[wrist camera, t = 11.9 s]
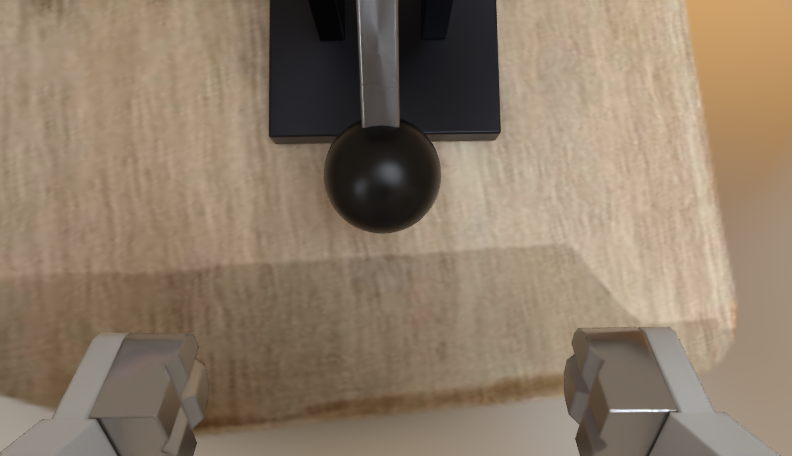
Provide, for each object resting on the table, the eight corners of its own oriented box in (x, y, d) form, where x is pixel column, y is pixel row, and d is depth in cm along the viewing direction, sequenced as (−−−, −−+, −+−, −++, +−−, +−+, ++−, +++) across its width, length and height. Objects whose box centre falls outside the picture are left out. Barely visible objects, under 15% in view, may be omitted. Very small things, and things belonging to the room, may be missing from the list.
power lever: (436, 203, 21) (444, 253, 17) (333, 205, 21) (321, 255, 17) (443, -281, 15) (458, -340, 12) (299, -278, 15) (273, -336, 12)
